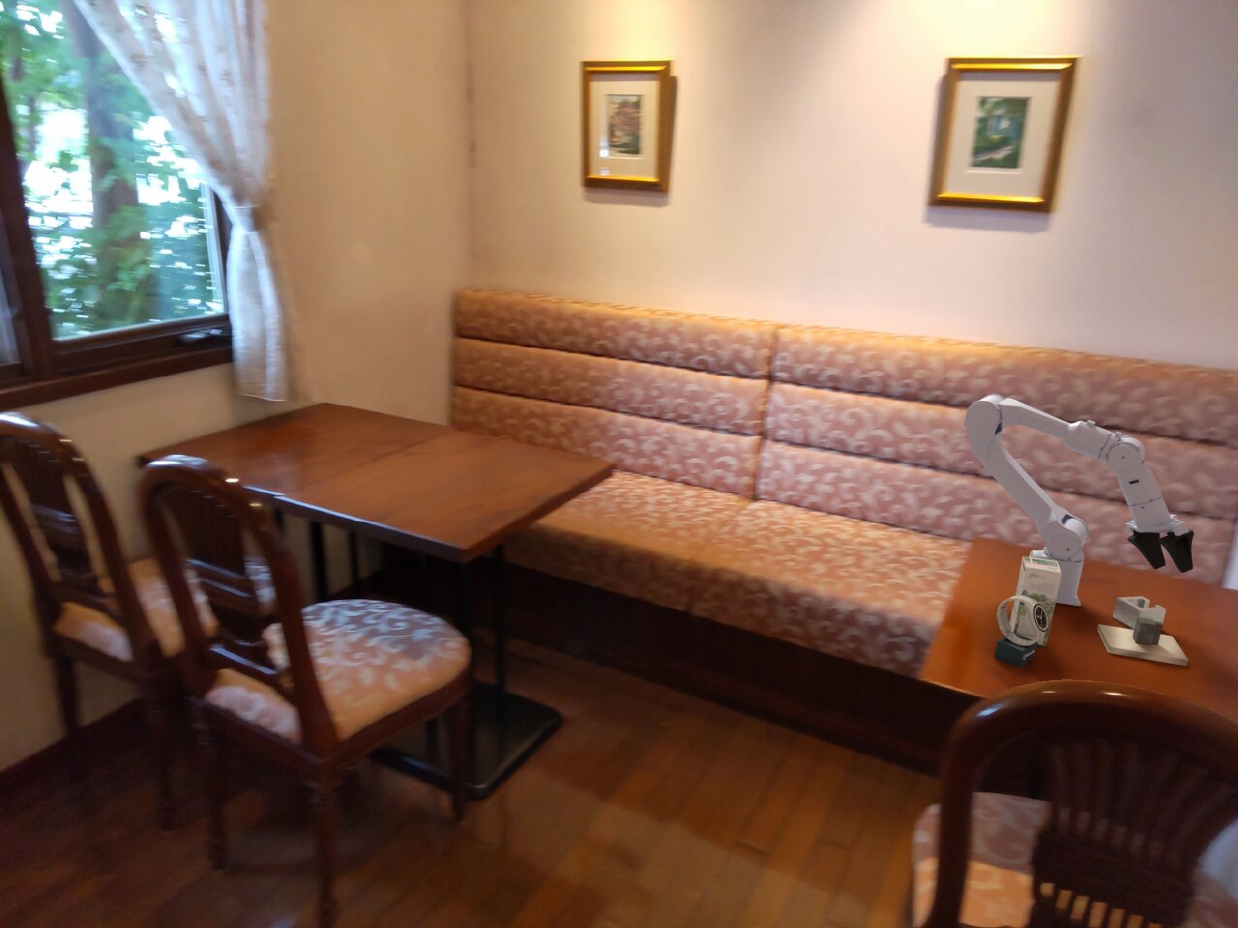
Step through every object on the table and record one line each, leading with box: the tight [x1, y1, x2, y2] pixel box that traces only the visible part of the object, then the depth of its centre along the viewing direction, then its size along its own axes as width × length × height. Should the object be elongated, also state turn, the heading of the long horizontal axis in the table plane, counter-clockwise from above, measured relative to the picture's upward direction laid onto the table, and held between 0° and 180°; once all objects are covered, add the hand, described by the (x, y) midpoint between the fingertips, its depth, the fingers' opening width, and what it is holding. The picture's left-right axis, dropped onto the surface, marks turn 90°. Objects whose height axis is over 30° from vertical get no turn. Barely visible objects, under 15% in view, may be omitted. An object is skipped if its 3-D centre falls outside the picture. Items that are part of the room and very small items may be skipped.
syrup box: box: [1009, 555, 1062, 647], centre depth 150 cm, size 6×6×14 cm
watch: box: [993, 595, 1049, 669], centre depth 143 cm, size 6×8×11 cm
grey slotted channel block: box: [1112, 595, 1167, 630], centre depth 159 cm, size 6×6×4 cm
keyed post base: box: [1096, 617, 1189, 667], centre depth 150 cm, size 12×9×5 cm
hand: (1173, 569), depth 157 cm, fingers open, 7 cm apart
